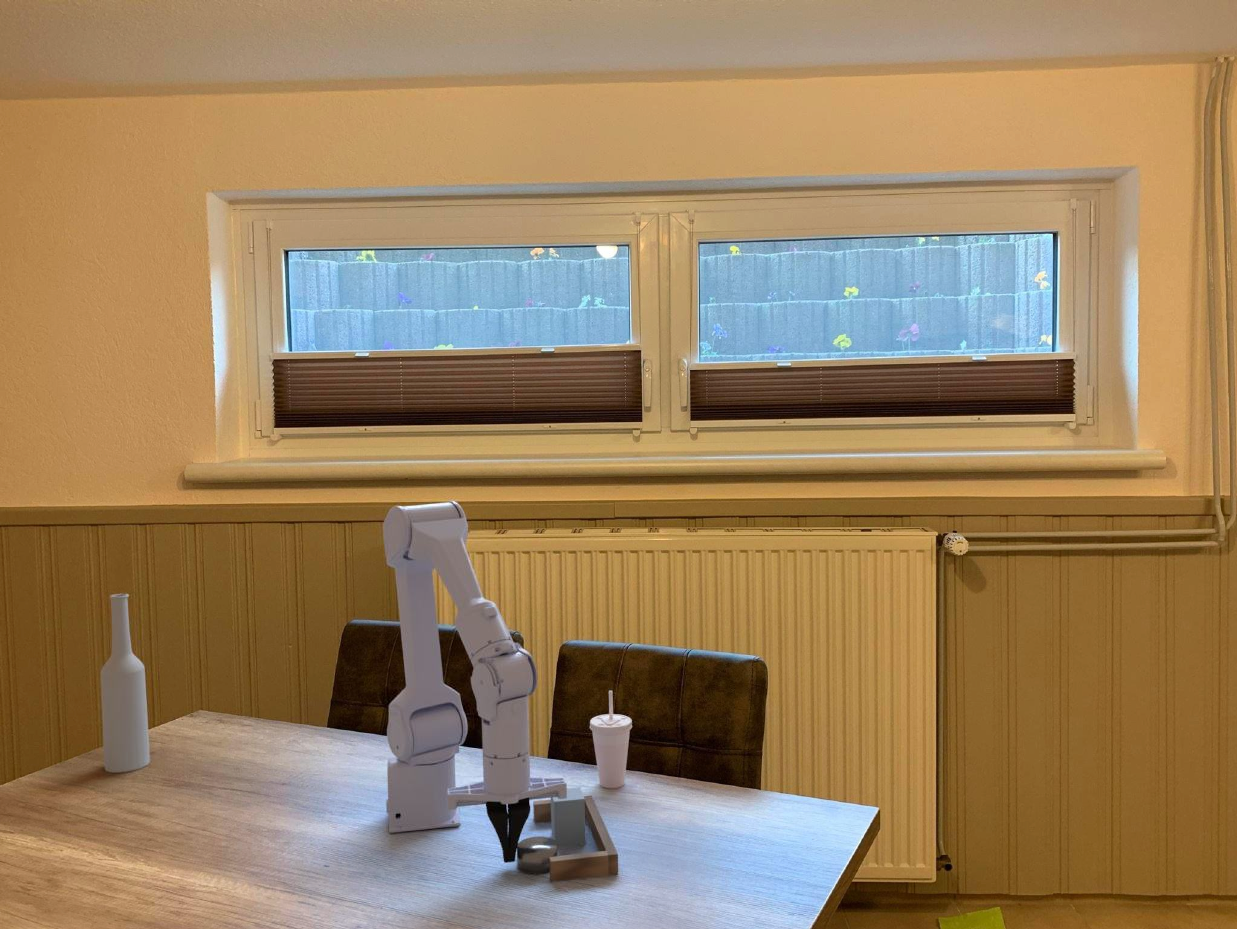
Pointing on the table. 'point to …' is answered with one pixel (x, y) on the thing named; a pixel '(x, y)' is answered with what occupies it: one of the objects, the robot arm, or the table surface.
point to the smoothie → (611, 746)
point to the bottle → (123, 699)
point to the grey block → (568, 818)
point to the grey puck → (535, 855)
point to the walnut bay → (585, 862)
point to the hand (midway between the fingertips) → (509, 858)
